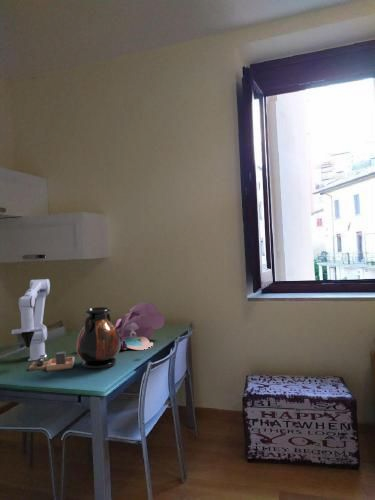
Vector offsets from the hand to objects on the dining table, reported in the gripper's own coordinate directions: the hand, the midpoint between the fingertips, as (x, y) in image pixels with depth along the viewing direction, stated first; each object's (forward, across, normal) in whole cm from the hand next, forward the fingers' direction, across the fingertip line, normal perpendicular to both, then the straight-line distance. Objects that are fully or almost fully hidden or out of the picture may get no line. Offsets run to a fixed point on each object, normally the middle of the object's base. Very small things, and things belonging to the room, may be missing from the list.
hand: (28, 347), depth 175 cm
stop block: (+9, +16, -4) cm, 19 cm away
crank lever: (+9, +6, 0) cm, 11 cm away
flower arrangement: (+10, +55, +21) cm, 60 cm away
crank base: (+10, +5, 0) cm, 11 cm away
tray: (+10, +16, -4) cm, 19 cm away
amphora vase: (+10, +35, -10) cm, 38 cm away
